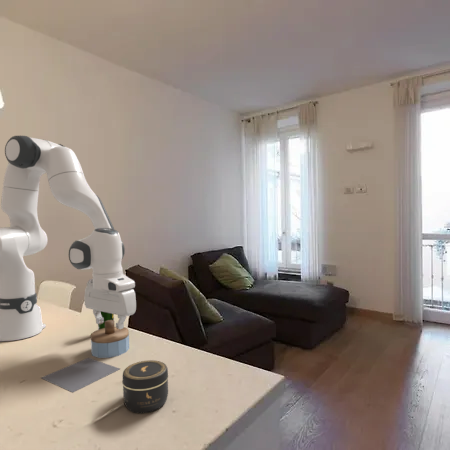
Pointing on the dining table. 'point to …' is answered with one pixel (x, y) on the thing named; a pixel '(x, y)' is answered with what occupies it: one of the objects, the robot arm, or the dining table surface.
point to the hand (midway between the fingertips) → (109, 326)
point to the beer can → (105, 319)
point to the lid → (109, 333)
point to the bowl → (110, 348)
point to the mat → (80, 374)
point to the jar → (145, 386)
